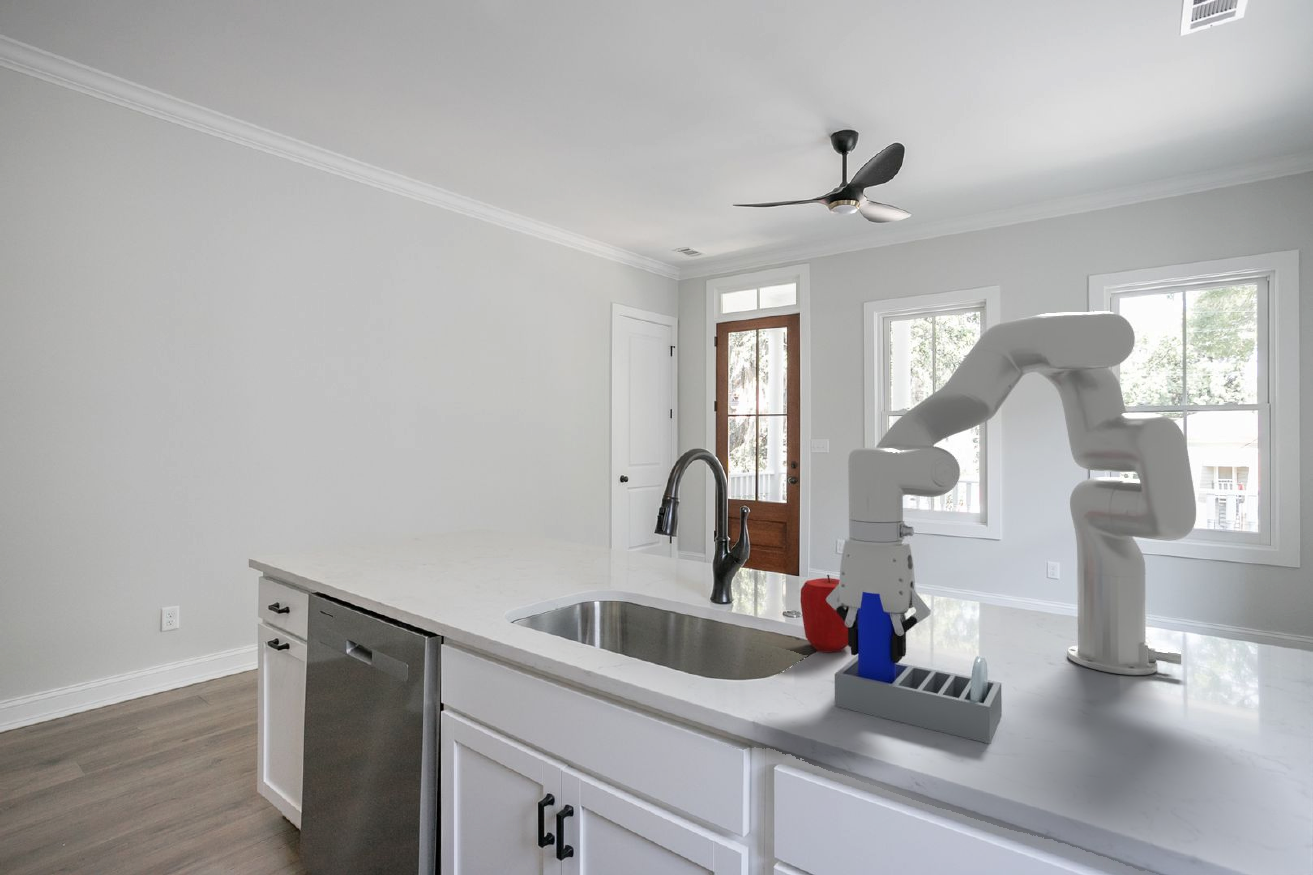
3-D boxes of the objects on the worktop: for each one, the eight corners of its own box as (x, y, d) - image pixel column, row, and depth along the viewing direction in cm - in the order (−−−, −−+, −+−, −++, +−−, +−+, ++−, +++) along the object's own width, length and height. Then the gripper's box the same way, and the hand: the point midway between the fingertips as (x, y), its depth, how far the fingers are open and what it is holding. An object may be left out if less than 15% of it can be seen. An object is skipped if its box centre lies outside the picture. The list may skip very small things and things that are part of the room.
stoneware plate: (987, 708, 90) (987, 650, 90) (977, 729, 83) (977, 667, 83) (981, 707, 90) (981, 649, 90) (970, 727, 84) (970, 665, 84)
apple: (857, 660, 112) (856, 582, 112) (797, 654, 116) (796, 577, 116) (860, 642, 122) (860, 570, 122) (805, 637, 126) (804, 567, 126)
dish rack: (1001, 715, 90) (1001, 682, 90) (989, 743, 82) (989, 706, 82) (857, 684, 101) (857, 654, 101) (834, 705, 93) (834, 673, 93)
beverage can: (895, 681, 96) (894, 580, 96) (896, 694, 92) (895, 587, 92) (858, 677, 98) (858, 578, 98) (857, 689, 93) (856, 585, 93)
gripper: (943, 533, 93) (945, 660, 93) (828, 525, 103) (829, 639, 103) (931, 540, 87) (932, 676, 87) (810, 530, 97) (811, 652, 97)
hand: (876, 655), depth 95 cm, fingers closed on beverage can, 5 cm apart
